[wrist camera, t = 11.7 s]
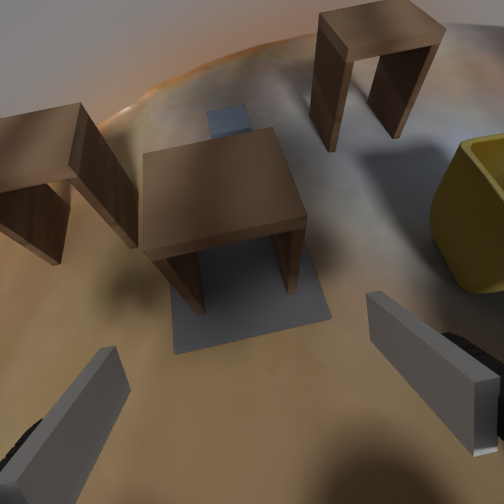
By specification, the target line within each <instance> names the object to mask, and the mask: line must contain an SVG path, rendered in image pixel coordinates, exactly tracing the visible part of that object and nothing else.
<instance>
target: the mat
mask: <svg viewBox="0 0 504 504" xmlns="http://www.w3.org/2000/svg"><path fill="white" fill-rule="evenodd" d="M198 253H199V261H200V269H201V277H202V285H203V293H204V302H205V310H206V314H202V315H196V314H195V312H194V311H193V310H192V309H191V308H190V306H189V305H188V304H187V303H186V302H185V300H184V299H183V298H182V297H181V296H180V294H179V293H178V292H177V291H176V290H175V288H174V287H173V286H172V285H171V284H170V287H171V305H172V323H173V341H174V354H181V353H185V352H189V351H194V350H198V349H203V348H207V347H211V346H216V345H220V344H224V343H229V342H233V341H237V340H242V339H246V338H250V337H255V336H259V335H263V334H268V333H272V332H276V331H281V330H285V329H289V328H294V327H298V326H303V325H307V324H311V323H316V322H320V321H324V320H329V319H331V318H332V316H331V314H330V311H329V308H328V305H327V303H326V300H325V297H324V294H323V292H322V289H321V286H320V283H319V281H318V278H317V275H316V272H315V270H314V267H313V264H312V261H311V258H310V256H309V253H308V250H307V247H306V245H305V242H303V249H302V256H301V263H300V270H299V277H298V284H297V291H296V293H294V294H290V295H288V294H287V291H286V287H285V284H284V281H283V277H282V274H281V270H280V267H279V263H278V260H277V257H276V253H275V250H274V246H273V243H272V239H271V236H270V235H268V236H264V237H259V238H255V239H250V240H246V241H241V242H237V243H232V244H228V245H223V246H218V247H214V248H209V249H205V250H200V251H198Z"/></svg>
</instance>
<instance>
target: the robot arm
mask: <svg viewBox="0 0 504 504" xmlns="http://www.w3.org/2000/svg"><path fill="white" fill-rule="evenodd" d="M366 300H367V310H368V321H369V332H370V340H371V341H372V343H373V344H374V345H375V346H376V347H377V348H378V349H379V351H380V352H381V353H382V354H383V355H384V356H385V357H386V358H387V360H388V361H389V362H390V363H391V364H392V365H393V366H394V367H395V369H396V370H397V371H398V372H399V373H400V374H401V375H402V376H403V378H404V379H405V380H406V381H407V382H408V383H409V384H410V385H411V387H412V388H413V389H414V390H415V391H416V392H417V393H418V395H419V396H420V397H421V398H422V399H423V400H424V401H425V402H426V404H427V405H428V406H429V407H430V408H431V409H432V410H433V411H434V413H435V414H436V415H437V416H438V417H439V418H440V419H441V420H442V422H443V423H444V424H445V425H446V426H447V427H448V428H449V429H450V431H451V432H452V433H453V434H454V435H455V436H456V437H457V439H458V440H459V441H460V442H461V443H462V444H463V445H464V446H465V448H466V449H467V450H468V451H469V452H470V453H471V454H472V455H473V457H475V456H479V455H484V454H488V453H493V452H497V449H498V436H499V437H500V438H501V439H502V440H503V441H504V364H503V363H501V362H500V361H498V360H497V359H495V358H494V357H492V356H491V355H489V354H486V352H485V351H483V350H482V349H480V348H479V347H476V345H474V344H473V343H471V342H470V341H468V340H467V339H465V338H463V337H461V336H458V335H455V334H453V333H450V332H447V333H442V334H440V333H439V332H437V331H436V330H434V329H433V328H432V327H430V326H429V325H427V324H426V323H425V322H423V321H422V320H420V319H419V318H418V317H416V316H415V315H413V314H412V313H411V312H409V311H408V310H406V309H405V308H404V307H402V306H401V305H400V304H398V303H397V302H395V301H394V300H393V299H391V298H390V297H388V296H387V295H386V294H384V293H383V292H381V291H376V292H371V293H367V294H366ZM130 392H131V389H130V386H129V383H128V380H127V377H126V375H125V372H124V369H123V366H122V363H121V360H120V358H119V355H118V352H117V349H116V346H110V347H105V348H101V349H100V350H99V351H98V352H97V353H96V354H95V356H94V357H93V358H92V359H91V361H90V362H89V363H88V364H87V366H86V367H85V368H84V369H83V371H82V372H81V373H80V374H79V375H78V377H77V378H76V379H75V380H74V382H73V383H72V384H71V385H70V387H69V388H68V389H67V390H66V392H65V393H64V394H63V395H62V396H61V398H60V399H59V400H58V401H57V403H56V404H55V405H54V406H53V408H52V409H51V410H50V411H49V413H48V414H47V415H46V416H45V418H43V419H40V420H39V421H38V422H36V423H35V424H34V425H33V426H32V427H31V428H29V429H28V430H27V431H26V432H25V433H24V434H23V435H22V437H21V438H20V439H19V440H18V441H17V443H16V444H15V447H12V449H11V450H10V451H9V452H8V453H7V455H6V457H5V458H4V459H2V460H1V462H0V504H75V503H76V501H77V499H78V497H79V495H80V493H81V491H82V489H83V487H84V485H85V483H86V481H87V479H88V477H89V475H90V473H91V471H92V469H93V467H94V465H95V463H96V460H97V458H98V456H99V454H100V452H101V450H102V448H103V446H104V444H105V442H106V440H107V438H108V436H109V434H110V432H111V430H112V428H113V426H114V424H115V422H116V420H117V418H118V416H119V414H120V412H121V410H122V408H123V406H124V404H125V402H126V400H127V398H128V396H129V394H130Z"/></svg>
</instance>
